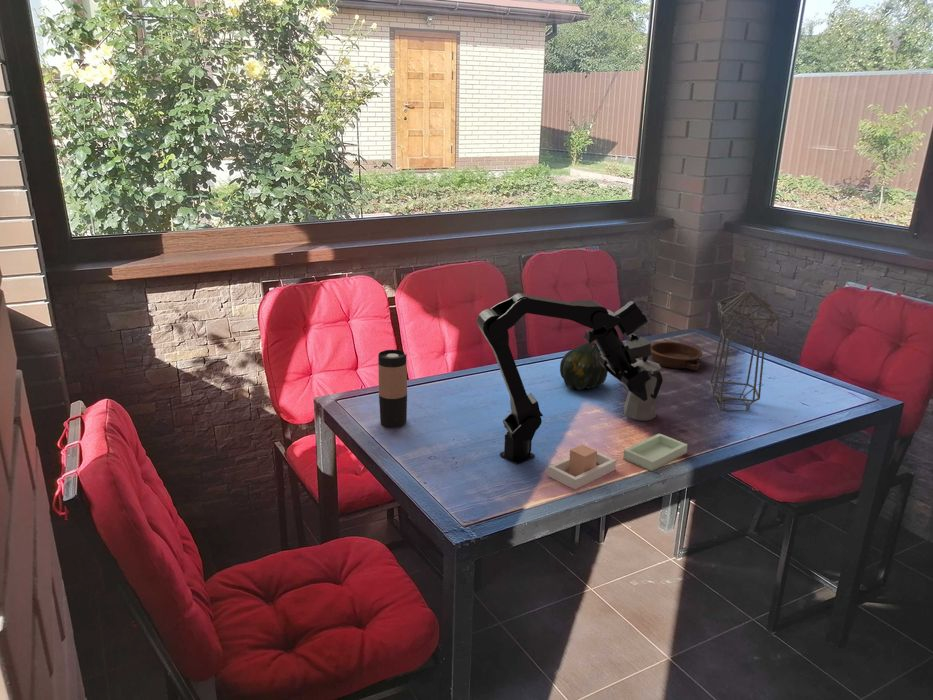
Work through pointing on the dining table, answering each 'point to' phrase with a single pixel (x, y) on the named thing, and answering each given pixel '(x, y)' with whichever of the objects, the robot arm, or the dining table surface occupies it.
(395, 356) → the travel mug
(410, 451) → the dining table surface
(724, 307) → the geometric lantern
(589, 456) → the tan block
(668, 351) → the dish
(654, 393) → the coffeepot
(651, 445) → the green bin
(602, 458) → the grey bin
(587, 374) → the squash
